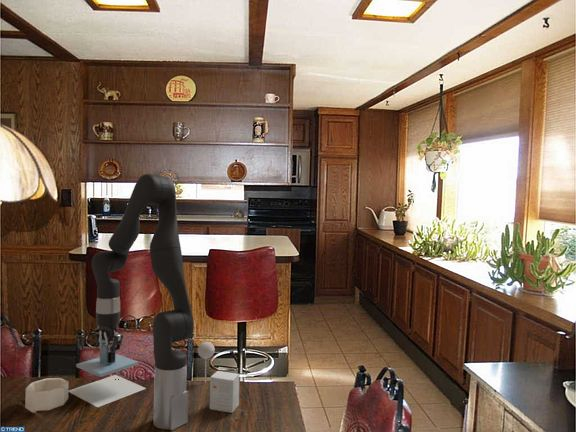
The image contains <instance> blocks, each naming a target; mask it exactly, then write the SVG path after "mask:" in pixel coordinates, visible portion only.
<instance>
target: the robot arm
mask: <svg viewBox="0 0 576 432" xmlns="http://www.w3.org/2000/svg"><path fill="white" fill-rule="evenodd" d="M147 205H155V206H156V207H157V212H158V213H157V214H158V215H157V216H158V222H157V226H156V229H155V231H154V233H153V235H152V237H151V241H150V242H149V243H150V244H149V256H150V263H151V265H150V266H151V268H152V271H153V273H154V275H155V276H156V277H157V278H158V280H159V281H160V282H161V284H163V287H165V289H166V290H167V291H168V293H169V296H170V298H171V301H172V304H173V308H174V309H171V310H167V311H166V310H165V311H160V312H157V313H156V314H155V316H154V319H153V323H152V336H153V337H152V340H153V341H152V342H153V358H154V378H153V379H154V381H153V382H154V383H153V385H154V386H153V419H152V421H153V426H154V427H156V428H158V429H161V430H170V431H174V430H176V429H177V428H180V427H181V426H184V425H185V424H187V423H188V422H189V420H188V419H189V391H188V389H187V373H188V372H187V370H188V369H187V367H188V355H187V354H186V352H184V351H182V350H177V349H173V348H172V343H176V342H178V343H179V342H182V341H186V340H190V339H192V336H193V334H194V331H195V322H194V316H193V315H194V314H193V312H192V306H191V303H190V299H189V294H188V293H189V292H188V290H187V289H188V288H187V283H186V278H185V277H186V276H185V272H184V263H183V254H182V247H181V242H180V235H179V226H178V214H177V193H176V187H175V183H174V181H173V180H172V179H171V178H170V177H167V176H162V175H158V174H151V173H145V174H142V175H141V176H140V177H139V178H138V180H137V181H136V183H135V184H134V187H133V189H132V192H131V195H130V196H129V200H128V202H127V205H126V207H125V210H124V213H123V215H122V218H121V220H120V222H119V224H118V225H117V227H116V229H115V230H114V231H113V233H112V235H111V237H110V239H109V240H108V247H109V249H110V250H105V251H99V252H97V253H95V254H94V256H93V257H92V261H91V268H92V271H93V276H94V278H95V282H96V286H97V289H96V294H97V295H96V302H95V303H96V304H95V306H96V307H95V310H96V311H95V324H96V326H98V327H96V328H94V329H93V334H94V335H93V336H94V340H95V346H96V347H98V348H99V350H100V345H104V344H106V345H107V347H108V363H113V362H114V361H115V351H116V352H117V351H119V350H120V349H121V346H122V342H123V338H124V335H123V333H121V334H120V333H119V330H118V326H119V324H120V323H121V299H120V298H121V297H120V295H121V294H120V291H121V288H120V285H121V284H120V281H119V280H118V279H117V278H111V276H110V273H113V272H117V271H120V270H122V269H124V267H125V265H126V264H127V260H128V257H129V253H130V250H131V248H132V246H133V245H134V244H135V242H136V240H137V239H138V237H139V235H140V230H141V223H140V222H141V221H140V217H141V214H142V212H143V210H144V208H145V207H146V206H147ZM111 345H112V348H111Z"/></svg>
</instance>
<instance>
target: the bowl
mask: <svg viewBox="0 0 576 432" xmlns="http://www.w3.org/2000/svg"><path fill="white" fill-rule="evenodd" d="M68 391H69V381H68V380H66V379H64V378H62V377H52V378H51V377H48V378H47V377H46V378H43V379H40V380H36V381H32V382H31V383H30V384H29V385H28V386H27V387H26V388H25V398H24V399H25V401H24V402H25V405H24V407H25V409H26V410H28V411H29V412H31V413H32V414H33V413H37V411H39V412H40V411H51V410H53V409H56V408H58V407H61V406H65V404H66V402H67V401H68V400H69V392H68Z"/></svg>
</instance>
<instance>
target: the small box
mask: <svg viewBox="0 0 576 432" xmlns="http://www.w3.org/2000/svg"><path fill="white" fill-rule="evenodd" d="M239 405H240V374H239V373H236V372H229V371H228V372H227V371H221V370H216V371H215V372H214V373H213V374H212V375H211V376H210V378H209V410H212V411H219V412H225V413H231V414H233V413H234V411H235V410H236V409H237V408H238V407H239Z"/></svg>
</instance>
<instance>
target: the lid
mask: <svg viewBox="0 0 576 432" xmlns="http://www.w3.org/2000/svg"><path fill="white" fill-rule="evenodd" d="M111 348H112V345H111ZM116 352H117V351H115V361H114V362H113V363H108V347H107V345H106V344H104V345H100V349H99V356H98V357H95V358H93V359H89V360H86V361H82V362H78V363H76V366H75V367H76V368H78V369H80V370H82V371H85V372H87V373H90V374H93V375H95V376H96V377H97V376H98V377H99V378H102V377H105V376H108V375H110V374H111V375H112V374H113V373H118V372H120V371H123V370H126V369H129V368H133V367H135V366H138V365H139V361H138V360H135V359H132V358H129V357H126V356H123V355H120V354H118V353H116Z"/></svg>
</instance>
